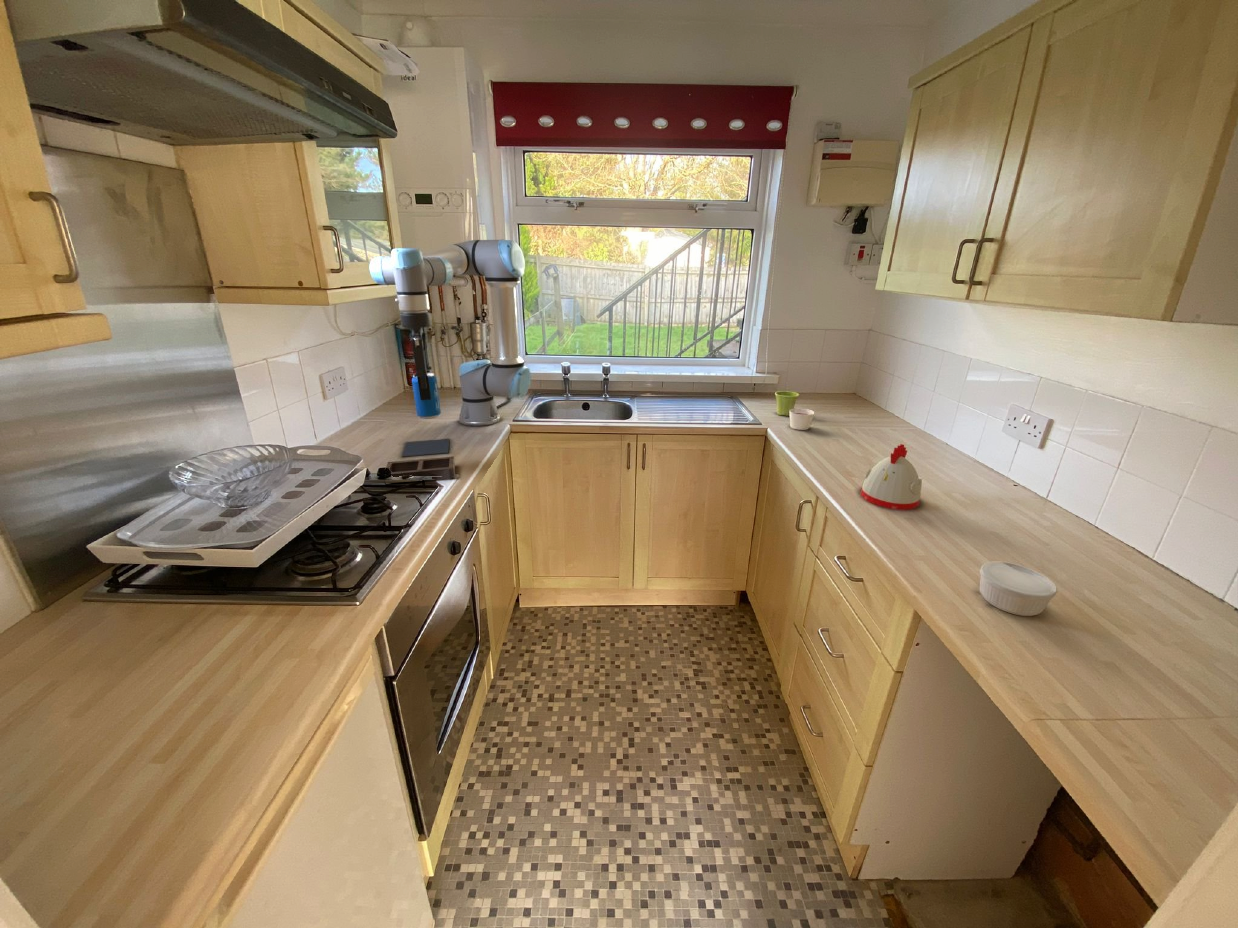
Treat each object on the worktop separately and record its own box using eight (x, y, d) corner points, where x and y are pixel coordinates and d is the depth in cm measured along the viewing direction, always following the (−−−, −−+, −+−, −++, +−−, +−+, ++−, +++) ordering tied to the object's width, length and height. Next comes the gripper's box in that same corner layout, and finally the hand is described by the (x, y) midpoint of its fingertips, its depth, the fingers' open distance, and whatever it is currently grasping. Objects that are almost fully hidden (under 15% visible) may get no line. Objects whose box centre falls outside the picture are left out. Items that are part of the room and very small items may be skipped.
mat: (406, 443, 173) (406, 442, 173) (449, 439, 177) (449, 438, 177) (402, 457, 161) (401, 456, 160) (448, 453, 164) (448, 452, 164)
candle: (810, 425, 197) (813, 409, 195) (813, 432, 189) (815, 415, 186) (786, 423, 199) (788, 407, 197) (787, 430, 191) (790, 413, 188)
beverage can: (433, 420, 142) (428, 378, 138) (412, 419, 143) (406, 376, 139) (445, 414, 148) (440, 373, 143) (425, 412, 149) (419, 372, 145)
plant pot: (767, 412, 213) (770, 392, 210) (785, 410, 217) (787, 390, 214) (783, 418, 205) (786, 397, 202) (801, 415, 209) (804, 395, 206)
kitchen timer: (851, 496, 137) (861, 443, 131) (875, 483, 145) (885, 433, 139) (905, 514, 127) (918, 458, 121) (927, 499, 135) (941, 446, 129)
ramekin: (1050, 600, 95) (1059, 576, 93) (1045, 629, 87) (1055, 604, 85) (979, 576, 102) (986, 554, 100) (968, 602, 94) (976, 578, 92)
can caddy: (389, 472, 149) (387, 461, 148) (455, 466, 154) (453, 456, 153) (385, 485, 140) (383, 474, 139) (454, 478, 145) (453, 468, 144)
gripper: (403, 308, 142) (415, 389, 151) (395, 315, 125) (409, 406, 134) (431, 307, 144) (441, 387, 153) (427, 315, 127) (439, 404, 136)
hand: (426, 396), depth 143 cm, fingers closed on beverage can, 6 cm apart
